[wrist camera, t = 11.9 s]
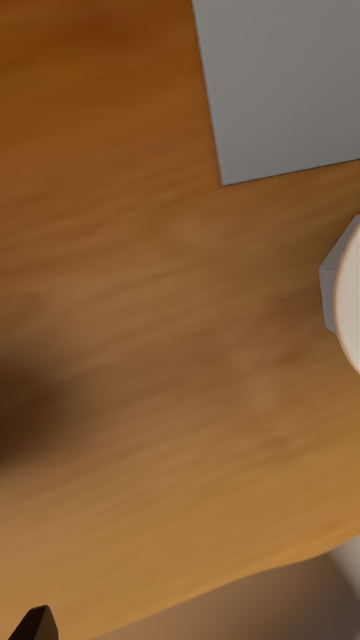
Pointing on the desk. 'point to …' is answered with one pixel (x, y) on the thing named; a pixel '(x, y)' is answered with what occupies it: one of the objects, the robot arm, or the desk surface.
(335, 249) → the bowl
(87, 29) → the desk surface
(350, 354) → the lid
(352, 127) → the mat
